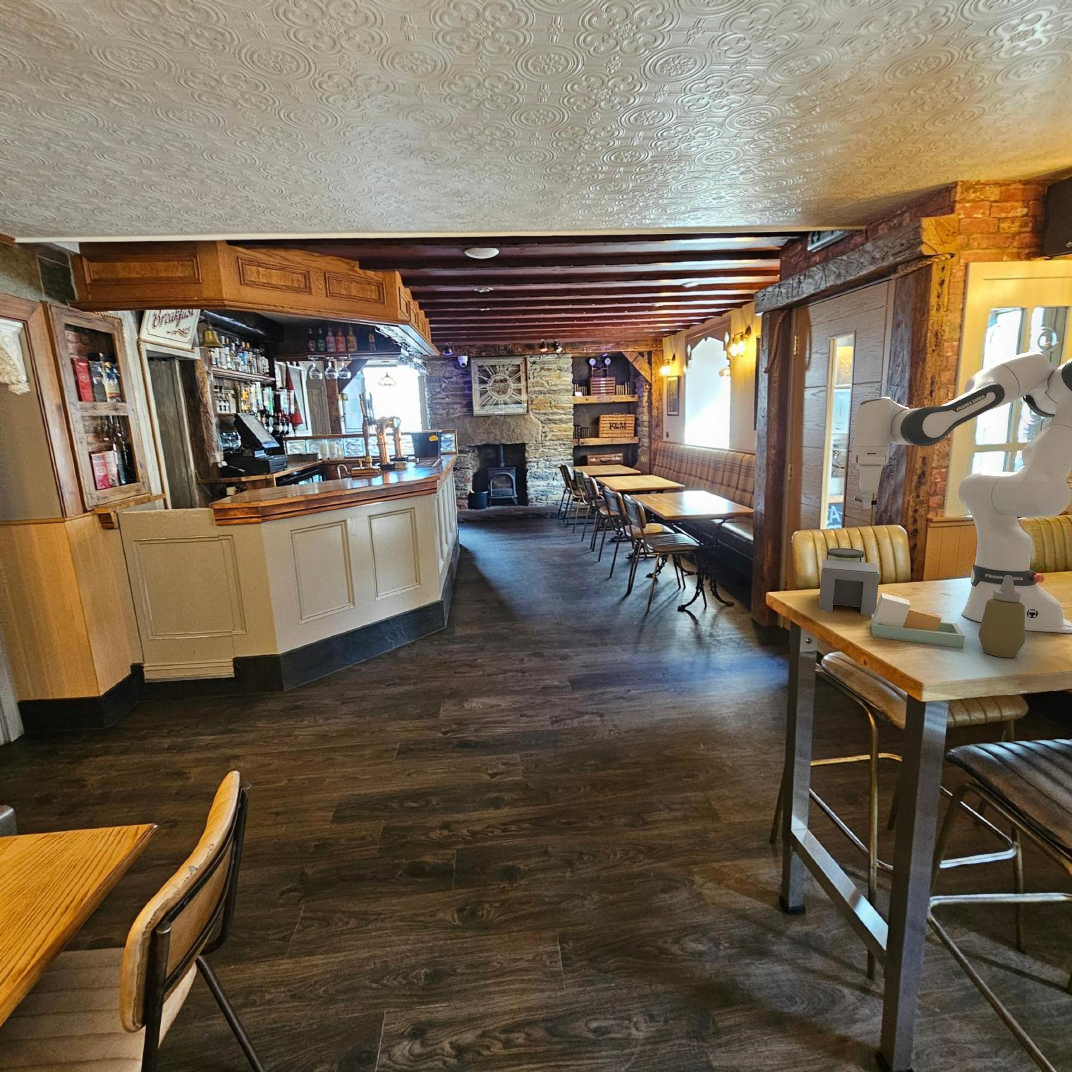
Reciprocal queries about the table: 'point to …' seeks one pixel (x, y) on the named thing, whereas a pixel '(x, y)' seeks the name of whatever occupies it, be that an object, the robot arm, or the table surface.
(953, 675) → the table surface
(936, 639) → the tray
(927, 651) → the table surface
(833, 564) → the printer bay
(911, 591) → the table surface
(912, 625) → the two-tone block
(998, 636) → the squeeze bottle
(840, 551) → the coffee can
